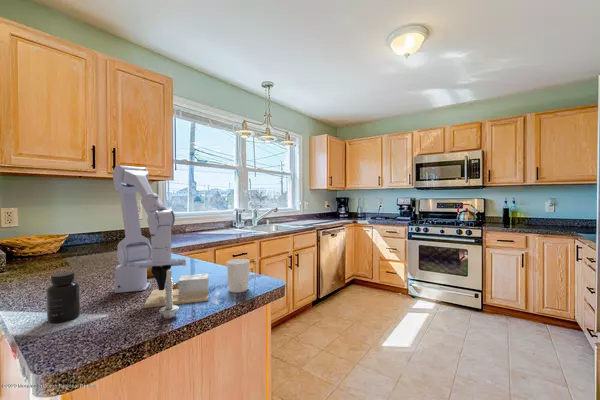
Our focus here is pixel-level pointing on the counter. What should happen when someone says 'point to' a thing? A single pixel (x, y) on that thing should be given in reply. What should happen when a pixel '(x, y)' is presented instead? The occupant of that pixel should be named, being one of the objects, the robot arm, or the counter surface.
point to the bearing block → (182, 291)
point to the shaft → (175, 286)
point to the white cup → (238, 275)
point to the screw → (169, 298)
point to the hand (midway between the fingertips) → (161, 289)
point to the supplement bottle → (63, 298)
